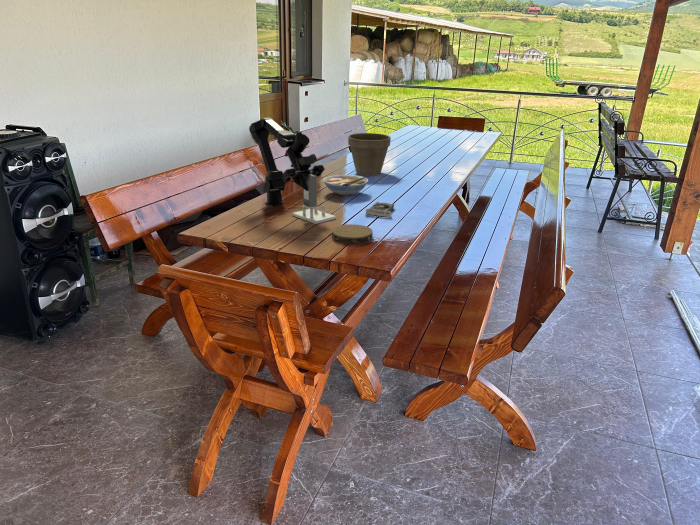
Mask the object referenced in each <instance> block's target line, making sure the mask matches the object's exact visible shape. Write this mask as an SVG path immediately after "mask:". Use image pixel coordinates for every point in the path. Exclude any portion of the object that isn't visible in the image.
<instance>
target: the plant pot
mask: <svg viewBox="0 0 700 525" xmlns="http://www.w3.org/2000/svg"><path fill="white" fill-rule="evenodd" d="M347 139H348V140H347V141H348V142H347V144H348V146H349V148H350V153H351V156H352V160H353V165H354V168H355V172H356V174H357V173H358V174H357V175H360V174H361V175H360V176H367V175H372V176H377V175H380V174H381V172H382V170H383V167H384V163H385V160H386V157H387V153H388V149H389V147H390V146H391V140H392V139H391V136H390V135H388V134H383V133H377V132H373V133H372V132H359V133H357V132H356V133H352V134H349V135H348V137H347Z"/></svg>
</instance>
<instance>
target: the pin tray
mask: <svg viewBox="0 0 700 525" xmlns="http://www.w3.org/2000/svg"><path fill="white" fill-rule="evenodd" d="M292 216H293V217H296V218H298V219H301V220H304V221H306V220H307V222H309V223H312V224H315V225H317V224H318V225H319V224H322V223H326V222H328V221H332V220H335V219H336V215H333V214H330V213H327V212H326V206H325V204H322V205H321V210H318V205H317V206H315V207H309V208H308V209H307V206H305V205H302V210H300V211H295V212H292Z"/></svg>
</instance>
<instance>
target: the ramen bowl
mask: <svg viewBox="0 0 700 525" xmlns="http://www.w3.org/2000/svg"><path fill="white" fill-rule="evenodd" d="M369 177H370V176H367V175H365V176H362V175H354V174H335V175H329V176H326V177H323V183H324V185H325V186H326V188H327V189H328V191H329V190H330V191H331V192H333V193H335V194H337V195H339V196H343V195H344V196H347V197H348V196H352V195H354V194H357V193H359V192H361V191H363V190H364V188H365V187H366V185H367V184H368V182H369V179H368V178H369Z"/></svg>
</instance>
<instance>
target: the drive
mask: <svg viewBox="0 0 700 525" xmlns="http://www.w3.org/2000/svg"><path fill="white" fill-rule="evenodd" d="M303 179H304V181H305V183H306V185H307V187H308V191H306V190H305V189H303V188H302V193H303V194H302V199H303V200H302V204H303V205H305V206H306V208H314V207H315V206H317V207H318V192H317V189H318V186H317V184H318V178H317V176H315V175H312V174H306V175H303ZM303 205H302V206H303Z"/></svg>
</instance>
